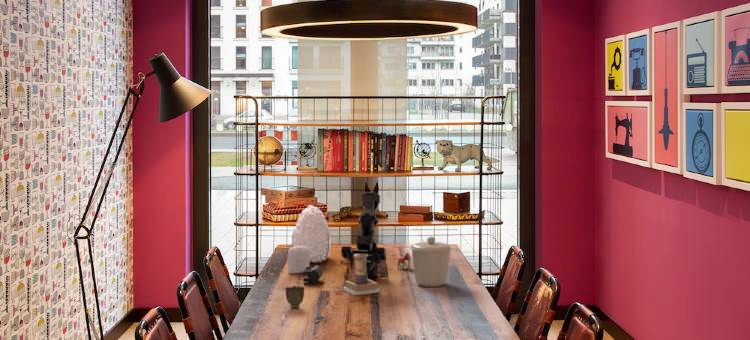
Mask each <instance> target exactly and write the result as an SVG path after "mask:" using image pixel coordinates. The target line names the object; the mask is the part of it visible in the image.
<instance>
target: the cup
mask: <svg viewBox="0 0 750 340" xmlns="http://www.w3.org/2000/svg"><path fill="white" fill-rule="evenodd" d="M304 296H305V287H304V286H303V285H301V286H299V285H297V286H296V285H292V286H289V287H288V286H286V287H285V297H286V301H287V303H288V304H289V307H290V308H291V309H294V310H297V309H299V308H300V307H301V306H300V305H301V303H302V302H303V300H304Z"/></svg>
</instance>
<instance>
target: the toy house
mask: <svg viewBox="0 0 750 340" xmlns="http://www.w3.org/2000/svg"><path fill="white" fill-rule="evenodd" d="M410 268H412V258H411V256H410V253H409V252H406V253H405V255H404V257H402V258H401V257H400V258H398V262H397V270H400V269H408V270H407V271H409V270H411V269H410Z"/></svg>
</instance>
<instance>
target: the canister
mask: <svg viewBox="0 0 750 340" xmlns="http://www.w3.org/2000/svg"><path fill="white" fill-rule="evenodd" d="M410 249H411V256H412V267H413V274H414V280H415V282H416V284H417V285H419V286H421V287H427V288H434V287H435V288H437V287H441V286H444V285H445V283H447V278H448V274H449V266H450V265H449V264H450V258H451V251H452V249H453V247H452V246H450V245H449V244H447V243H445V242H439V241H436V238H435V237H434V236H429V237H427V239H426V241H421V242H416V243H414V244H413V245H411V246H410Z"/></svg>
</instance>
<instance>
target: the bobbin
mask: <svg viewBox="0 0 750 340" xmlns="http://www.w3.org/2000/svg"><path fill="white" fill-rule="evenodd" d="M353 257H354V262H355V273H354V284H357V285H359V284H368V279H369V278H368V274H367V267H366V257H368V254H365V253H358V254H354V255H353Z"/></svg>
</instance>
